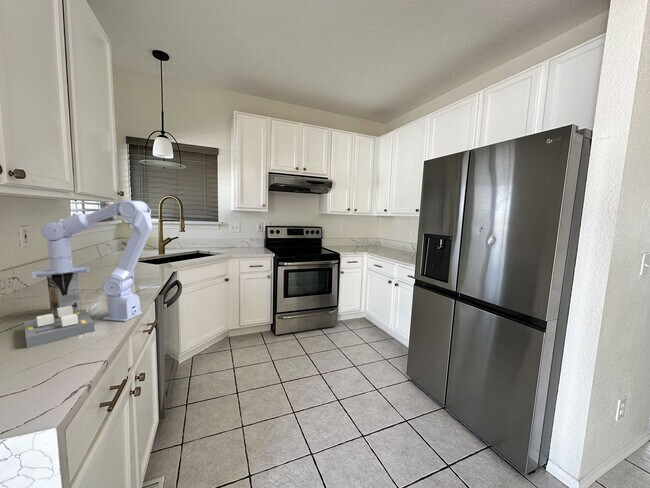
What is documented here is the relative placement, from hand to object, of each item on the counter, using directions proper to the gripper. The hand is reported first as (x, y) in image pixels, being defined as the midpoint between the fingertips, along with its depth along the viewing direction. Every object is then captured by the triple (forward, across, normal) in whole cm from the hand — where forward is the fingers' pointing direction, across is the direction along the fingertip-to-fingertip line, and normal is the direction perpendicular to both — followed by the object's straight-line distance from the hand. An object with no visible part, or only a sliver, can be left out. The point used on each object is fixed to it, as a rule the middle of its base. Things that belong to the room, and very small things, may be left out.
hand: (64, 294), depth 95 cm
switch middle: (+6, -5, -10) cm, 13 cm away
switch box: (+9, -2, -10) cm, 14 cm away
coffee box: (+10, 0, +10) cm, 14 cm away
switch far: (+6, 0, -4) cm, 7 cm away
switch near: (+6, +1, -15) cm, 16 cm away
